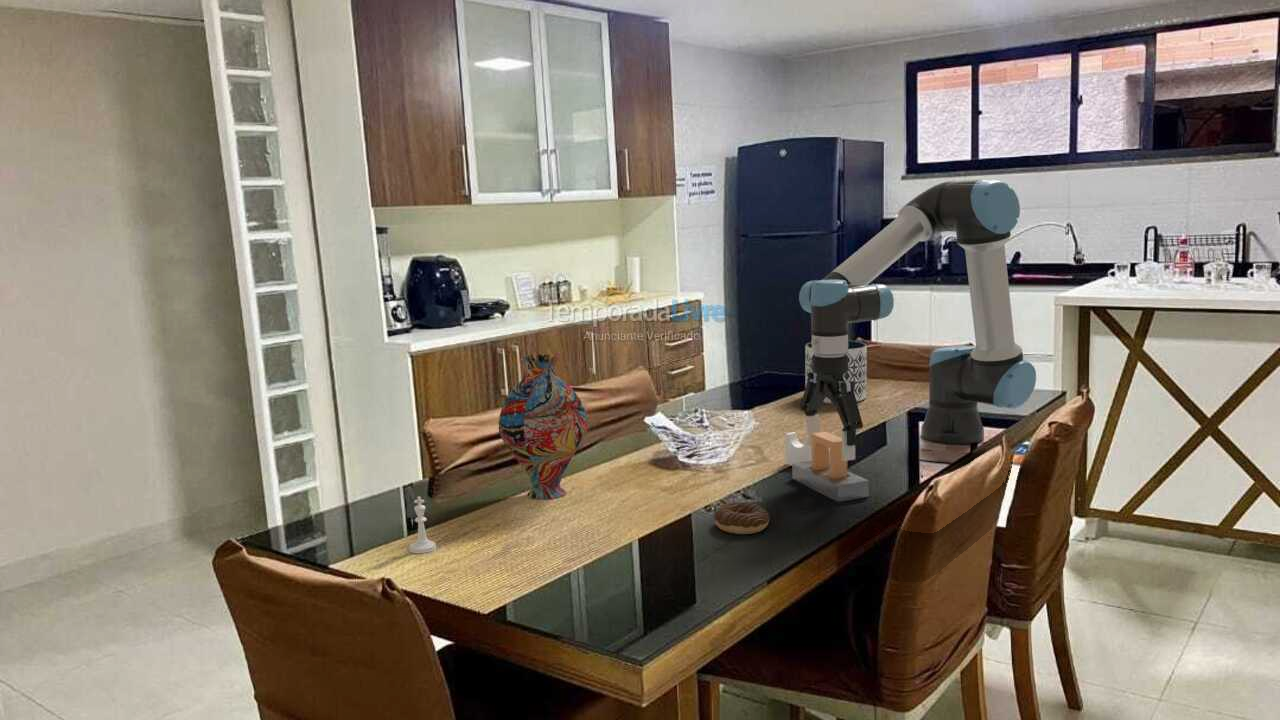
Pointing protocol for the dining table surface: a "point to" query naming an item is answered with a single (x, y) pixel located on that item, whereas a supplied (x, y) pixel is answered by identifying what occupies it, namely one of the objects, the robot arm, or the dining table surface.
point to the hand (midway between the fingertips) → (830, 452)
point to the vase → (543, 425)
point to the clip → (828, 454)
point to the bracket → (797, 450)
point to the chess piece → (421, 532)
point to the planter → (855, 368)
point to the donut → (741, 518)
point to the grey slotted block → (830, 482)
